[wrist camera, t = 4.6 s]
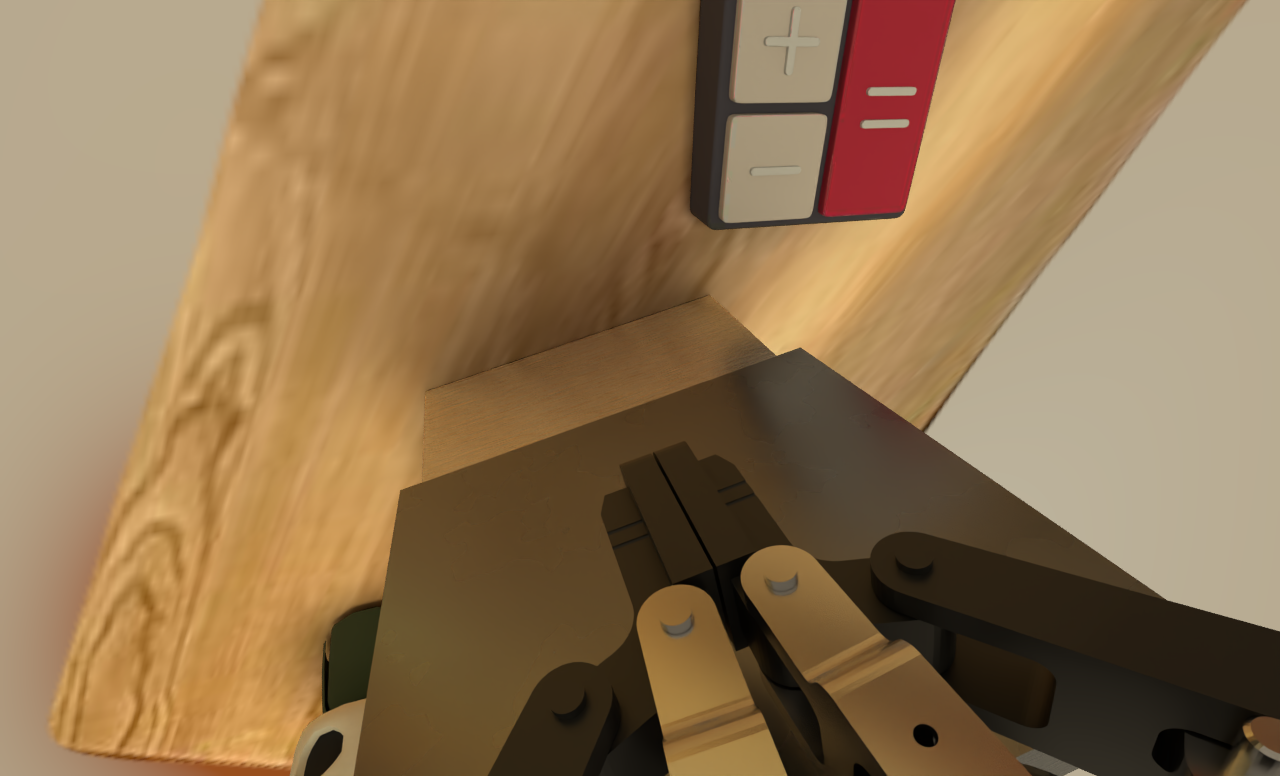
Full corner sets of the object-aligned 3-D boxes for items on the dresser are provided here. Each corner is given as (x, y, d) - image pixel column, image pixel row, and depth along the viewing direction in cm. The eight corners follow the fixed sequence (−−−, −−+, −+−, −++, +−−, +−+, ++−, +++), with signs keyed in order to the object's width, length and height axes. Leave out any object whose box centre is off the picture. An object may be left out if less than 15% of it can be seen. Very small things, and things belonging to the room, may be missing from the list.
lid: (413, 515, 24) (400, 490, 24) (804, 373, 26) (800, 347, 26) (324, 1242, 9) (281, 1217, 8) (1307, 754, 11) (1324, 709, 10)
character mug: (358, 558, 36) (323, 780, 25) (473, 586, 40) (486, 793, 29) (288, 687, 39) (229, 936, 28) (400, 703, 43) (387, 932, 32)
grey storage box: (425, 391, 33) (421, 512, 24) (709, 295, 35) (797, 375, 26) (524, 593, 41) (546, 736, 33) (749, 506, 43) (825, 620, 35)
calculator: (712, 236, 30) (748, -188, 22) (683, 211, 33) (704, -162, 25) (913, 222, 32) (1009, -160, 25) (866, 200, 36) (936, -140, 28)
